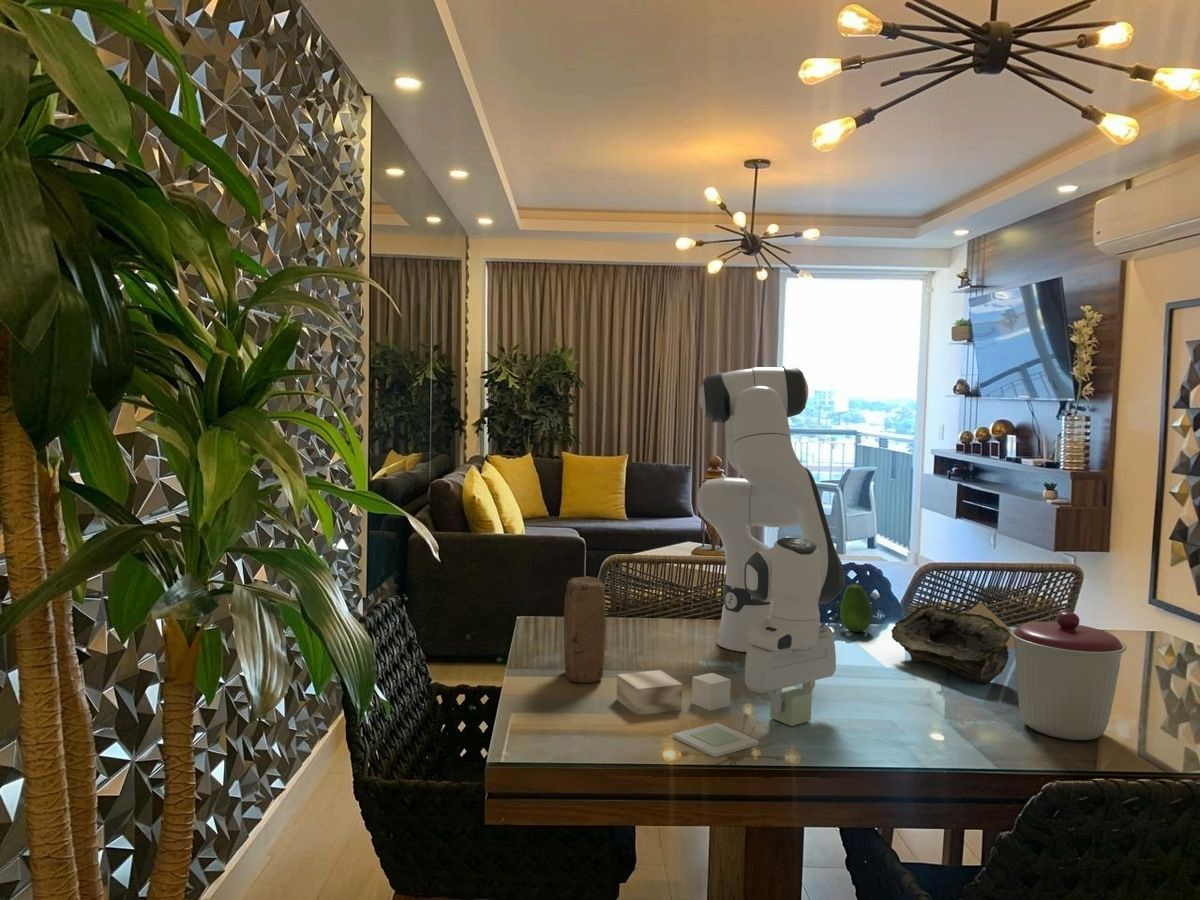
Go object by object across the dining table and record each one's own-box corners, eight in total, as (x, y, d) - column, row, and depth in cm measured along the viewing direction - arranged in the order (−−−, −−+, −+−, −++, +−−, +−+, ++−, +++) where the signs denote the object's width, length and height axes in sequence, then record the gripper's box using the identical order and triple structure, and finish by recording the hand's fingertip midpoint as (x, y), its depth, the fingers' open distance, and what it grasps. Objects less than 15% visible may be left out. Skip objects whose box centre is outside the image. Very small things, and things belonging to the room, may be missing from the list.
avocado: (833, 628, 227) (835, 581, 226) (862, 627, 228) (864, 581, 228) (847, 636, 219) (849, 588, 218) (877, 635, 220) (879, 587, 220)
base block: (659, 695, 171) (660, 669, 171) (681, 711, 163) (682, 684, 162) (616, 700, 167) (617, 674, 167) (637, 716, 159) (637, 689, 159)
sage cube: (789, 712, 162) (790, 685, 162) (810, 720, 158) (811, 692, 158) (770, 717, 159) (771, 689, 159) (791, 726, 155) (792, 697, 155)
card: (716, 726, 155) (716, 721, 154) (759, 744, 146) (759, 739, 146) (672, 737, 149) (673, 732, 149) (714, 757, 141) (714, 752, 141)
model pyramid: (928, 641, 218) (930, 600, 218) (961, 630, 230) (963, 592, 229) (996, 656, 206) (998, 613, 205) (1027, 644, 218) (1029, 604, 217)
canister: (986, 712, 166) (992, 600, 164) (1080, 712, 167) (1086, 601, 166) (1041, 750, 148) (1048, 624, 146) (1145, 750, 149) (1153, 625, 148)
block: (605, 684, 176) (608, 584, 175) (567, 685, 174) (570, 584, 173) (595, 668, 186) (598, 573, 185) (560, 669, 185) (562, 574, 184)
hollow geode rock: (1004, 715, 179) (1048, 658, 181) (971, 675, 175) (1016, 618, 178) (909, 670, 205) (949, 621, 208) (879, 635, 201) (919, 585, 204)
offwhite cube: (711, 698, 169) (712, 672, 169) (729, 706, 165) (730, 679, 165) (691, 703, 166) (692, 676, 166) (709, 711, 162) (710, 684, 162)
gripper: (818, 620, 166) (815, 693, 167) (740, 634, 154) (737, 713, 155) (846, 627, 161) (842, 702, 162) (767, 643, 149) (764, 724, 150)
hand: (790, 708), depth 158 cm, fingers closed on sage cube, 5 cm apart
